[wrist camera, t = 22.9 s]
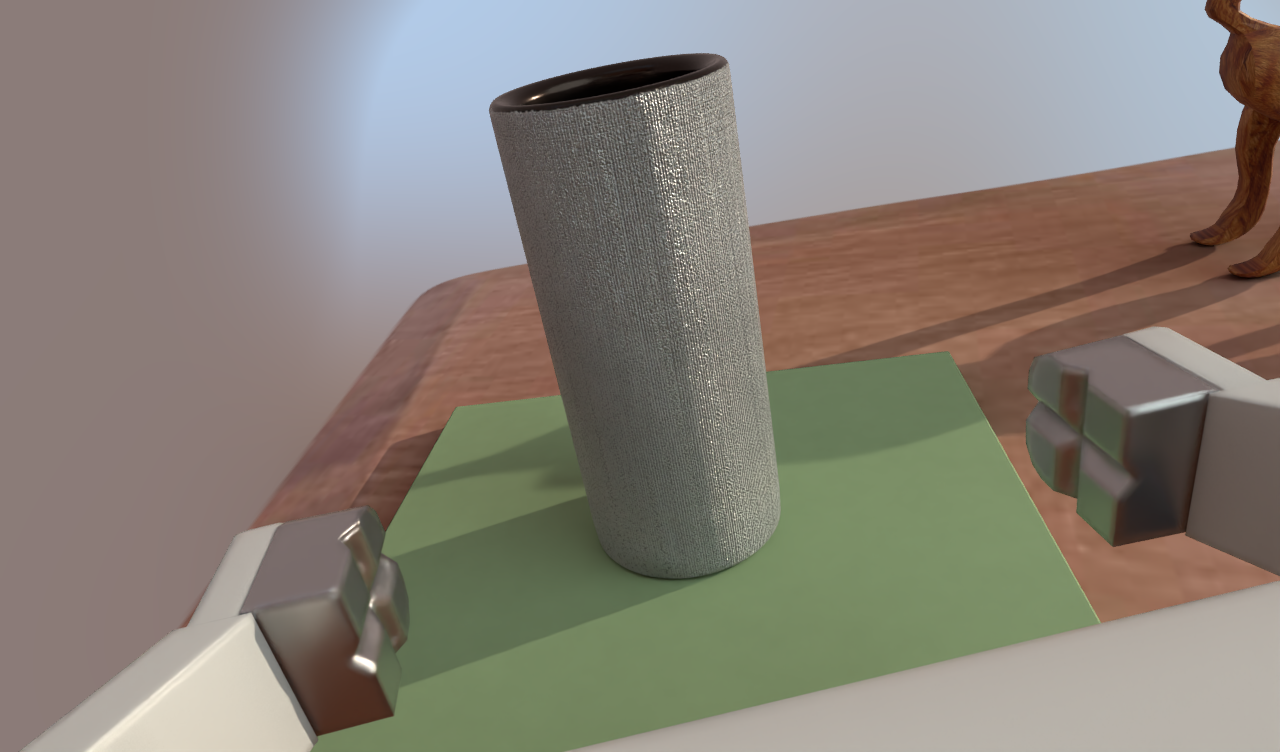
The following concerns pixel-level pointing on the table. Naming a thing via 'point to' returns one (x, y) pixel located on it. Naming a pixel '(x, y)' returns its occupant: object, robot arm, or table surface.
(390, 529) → the sage mat
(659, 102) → the planter
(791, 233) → the table surface
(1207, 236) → the cat figurine
